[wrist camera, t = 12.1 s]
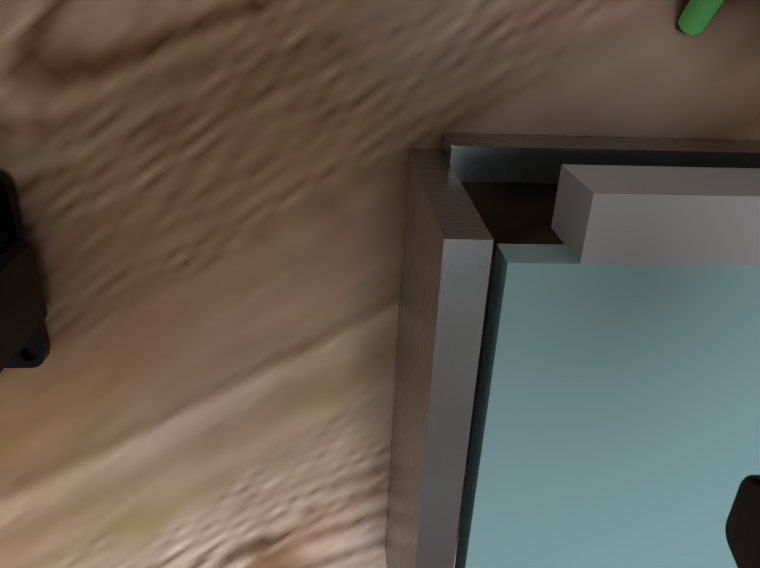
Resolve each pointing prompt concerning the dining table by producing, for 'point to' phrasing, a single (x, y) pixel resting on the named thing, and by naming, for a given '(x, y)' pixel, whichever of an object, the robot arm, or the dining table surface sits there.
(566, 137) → the grey drawer box
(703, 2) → the gear
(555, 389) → the sliding box lid
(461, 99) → the dining table surface
